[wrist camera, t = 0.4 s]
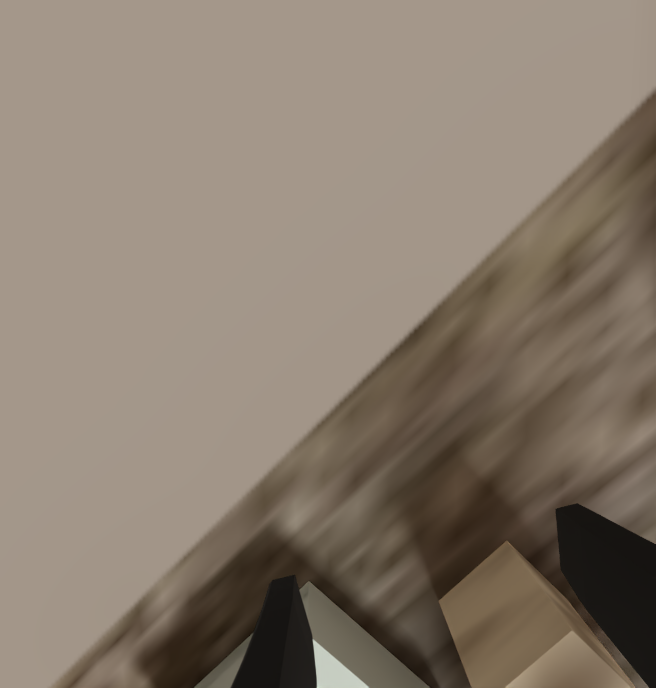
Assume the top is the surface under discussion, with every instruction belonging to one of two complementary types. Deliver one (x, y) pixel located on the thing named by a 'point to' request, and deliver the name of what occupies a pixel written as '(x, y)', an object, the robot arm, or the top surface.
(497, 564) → the block
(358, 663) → the dish
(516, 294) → the top surface
